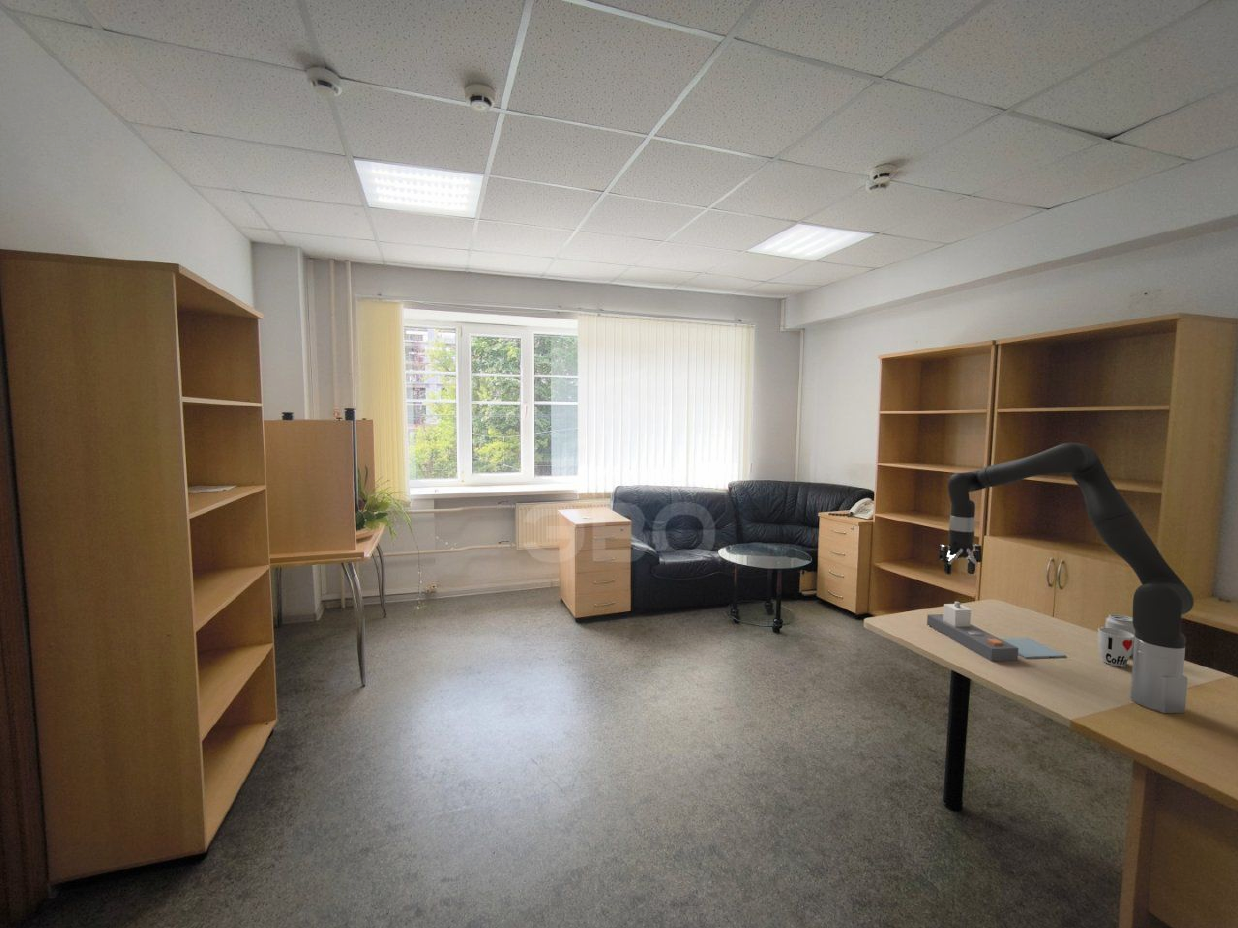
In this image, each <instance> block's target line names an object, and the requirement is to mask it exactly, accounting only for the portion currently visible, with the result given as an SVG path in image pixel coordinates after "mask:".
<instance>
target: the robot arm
mask: <svg viewBox="0 0 1238 928" xmlns="http://www.w3.org/2000/svg"><path fill="white" fill-rule="evenodd" d="M1051 474H1067V475H1069V476H1071V478H1072V479H1073V480H1074V482H1075V483H1076V484H1077V486H1078V487H1079V488H1080V490H1081V493H1082V495H1083V497H1084V503H1085V507H1086V512H1087V515H1088V518H1089V520H1090V522H1091V524H1092V525H1093V527H1094V529H1095V530H1096V532H1097V533H1098V535H1099V537H1100V538H1101V540H1102V541H1104V543H1105V544H1106V545H1107V546H1108V547H1109V548H1110V549H1111V550H1112V551H1114V552H1115V553H1116V554H1117V555H1118V556H1119V557H1120V558H1121V559H1122V560H1123V561H1125V562H1126V564H1128V565H1129V566H1130V567H1131V569H1132V571H1133V572H1135V575H1136V577H1137V578H1138V580H1139V582H1140V583H1141V585H1139V586H1138V587H1137V588H1136V590H1135V591H1134V594H1133V596H1132V597H1133V598H1132V618H1133V620H1132V622H1133V627H1134V629H1135V642H1134V654H1133V655H1132V656H1133V657H1132V671H1131V682H1130V683H1131V685H1130V699H1131V701H1133V702H1134V703H1136V704H1139V706H1142V707H1144V708H1147V709H1150V710H1153V711H1157V712H1160V713H1162V714H1179V713H1181V714H1182V713H1183V714H1184V713H1185V712H1186V702H1187V701H1186V700H1187V691H1188V689H1187V688H1188V677H1187V676H1186V675H1184V666H1185V657H1186V656H1185V655H1186V654H1185V652H1186V644H1187V639H1186V638H1187V637H1186V636H1185V635H1184V634H1183V633H1182V615H1185V614H1188V613H1189V612H1190V611H1191V610H1192V609H1193V607H1194V604H1195V600H1194V596H1193V594H1192V592H1191V591H1190V589H1189V588H1188V586H1187V585H1186V584H1185V582H1183V581H1182V579H1181V578H1180V577H1179V576H1178V575H1177V574H1176V573H1175V571H1174V570H1173V569H1172V567H1170V565H1169V564H1168V563H1167V561H1166V560H1165V559H1164V557H1163V555H1162V554H1161V553H1160V551H1159V548H1158V547H1157V546H1156V544H1155V543H1154V542H1153V540H1152V538H1151V537H1150V535H1149V534H1148V533H1147V531H1146V529H1145V527H1144V526H1143V523H1142V522H1141V521H1140V520H1139V518H1138V517H1137V515H1136V514H1135V513H1134V511H1133V510H1132V508H1131V507H1130V506H1129V504H1128V503H1127V502H1126V500H1125V499H1124V497H1123V496H1122V494H1121V493H1120V492H1119V490H1118V489H1117V488H1116V486H1115V484H1113V483H1112V480H1111V479H1110V477H1109V476H1108V474H1107V472H1106V469H1105V468H1104V466H1103V464H1102V462H1101V460H1100V458H1099V456H1098V454H1097V453H1096V451H1095V449H1093V448H1092V447H1091V446H1089V445H1088V444H1086V443H1085V444H1084V443H1081V442H1065V443H1060V444H1058V445H1056V446H1053V447H1051V448H1048V449H1046V450H1043V451H1041V452H1039V453H1036V454H1033V455H1029V456H1026V457H1023V458H1022V457H1021V458H1018V459H1013V460H1011V461H1010V460H1009V461H1005V462H1001V463H995V464H993V465H988V466H984V467H982V468H980V469H977V470H973V471H967V472H966V471H965V472H956V473H954V474H952V475H951V476H949V478H948V482H947V491H948V496H949V500H950V501H949V502H950V503H951V505H950V516H949V521H948V522H949V524H948V526H949V527H948V542H949V543H948V545H946V544H945V545H944V544H940V545H939V551H938V552H939V553H938V561H939V562H941V563H943V572H944V574H946V575H948V576H949V575H952V563H953V562H954V561H955V560H957V558H958V559H959V558H965V559H966V560H967V574H969V575H974V574H975V572H976V564H977V563H981V562H982V559H983V558H982V553H983V551H982V550H983V548H982V545H979V544H976V543H974V542H975V532H976V531H975V527H976V521H975V515H976V514H975V512H976V504H975V502H974V501H973V500H971V498H970V493H973V492H977V491H981V490H984V489H988V488H993V487H999V486H1004V485H1008V484H1012V483H1017V482H1018V481H1022V480H1024V479H1025V480H1026V479H1028V478H1033V477H1036V476H1042V475H1051Z"/></svg>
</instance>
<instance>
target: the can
mask: <svg viewBox="0 0 1238 928" xmlns="http://www.w3.org/2000/svg"><path fill="white" fill-rule="evenodd" d="M1132 620H1133V617H1131V616H1128V615H1123V614H1115V613H1113V614H1112V613H1111V614H1109V615H1108V617H1106V618H1105V624H1104V625H1105V626H1104V627H1107V628H1114V629H1119V630H1123V631H1126V632H1129V633H1131V634H1133V635H1134V640H1133V646H1132V651H1131V654H1130V657H1132V656H1133V654H1134V642H1135V629H1134V627H1133V622H1132Z"/></svg>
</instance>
